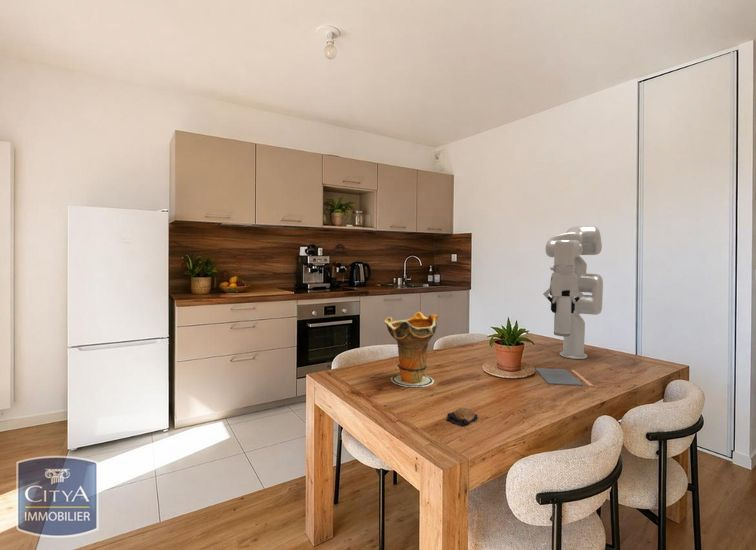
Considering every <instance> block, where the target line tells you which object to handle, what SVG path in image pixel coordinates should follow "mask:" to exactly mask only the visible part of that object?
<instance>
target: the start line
mask: <svg viewBox="0 0 756 550" xmlns="http://www.w3.org/2000/svg"><path fill="white" fill-rule="evenodd" d="M570 371H571V372H572V373H573V374H574V375H575V376H577V377H578V378H579V379H580V380H581V381H582V382H584V383H585V384H586V385H587V386H588V387H594V385H593V384H592V383H591V382H590V381H588V380H587V379H586V378H585V377H584V376H582V375H581V373H579V372H578V371H576V369H571V370H570Z"/></svg>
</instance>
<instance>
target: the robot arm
mask: <svg viewBox="0 0 756 550" xmlns="http://www.w3.org/2000/svg"><path fill="white" fill-rule="evenodd" d="M601 236H602V235H601V231H600V230H599V228H598V227H597V226H594V225H585V226H583V225H581V226H579V225H578V226H572V227H570V228H568V229H567V230H566V231H565V233H562V234H557V235H554V236H552V237H550V238H549V239H548V240H547V242H546V243H545V254H546V256H548V257H549V258H554V259H553V260H554V261H553V266H551V267H550V268H549V269H550V271H553V272H551V277H550V282H549V288H547V289H546V290H545V291H544V293H543V296H544V297H545V298H546V299H547V300H548V301H549V302H550V311H551V312H552V313H553V314H555V313H556V303H555V301H556V299H557V297H561V295H562V291H564V290H570V294H569V295H570V297H571V298H572V302H571V330H570V336H567V337H562V338H563V341H562V343H563V345H562V346H563V347H562V351H560V352H559V356H561V357H563V358H567V359H573V360H585V359H587V358H588V355H587V354H586V353H585V335H586V334H585V333H586V332H585V331H586V324H585V323H586V322H585V320H584V318H583V317H582V316H581V315H582V314H583V315H593V316H595V315H599V314H601V313H602V309H603V295H604V293H603V292H604V281H603V277H602V276H601V275H600V274H598V273H597V274H596V273H588V272H587V267H588V265H587V263H586V261H585V260H584V258H583V257H581V256H597V255H599V254H601V252H602V247H603V246H602V245H603V244H602V237H601ZM583 293H589V294H583Z"/></svg>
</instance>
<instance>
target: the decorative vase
mask: <svg viewBox="0 0 756 550" xmlns="http://www.w3.org/2000/svg"><path fill="white" fill-rule="evenodd" d="M438 317H439V315H438V314H429V315H428V317H426V316H425V315H424V313H422V312H421V311H417V312H415V313H414V314H413V316H412V317H411V318H407V319H400V320H393V317H391V316H387V317H386V318H385V319H384V321H383V323H384V324H385V325H386V328H387V331H388V333H389V335H390V336H391V337H392V338H393V339H394V340H395V341H396V343H397V349H398V350H397V354H398V362H399V363H398V364H397V367H398V368H399V374H396V375H393V376H391V377H390V378H389V379H390V380H391V382H392V383H393V384H395V385H399V386H401V387H405V388H408V387H409V388H421V387H428V386H431V385H434V382H435V380H434V379H433V378H432V377H431V376H428V375H426V374H425V373H426V369H427V368H428V367H427V366H428V365H427V358H428V347H429V342H430V340H431V339H432V338H433V337H434V336H436V335H435V334H436V331H437V327H438V326H437V325H438V324H437V319H438ZM397 367H395V371H396V370H397Z"/></svg>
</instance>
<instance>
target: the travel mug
mask: <svg viewBox="0 0 756 550" xmlns="http://www.w3.org/2000/svg"><path fill="white" fill-rule="evenodd" d="M569 294H570V290H564V291H562V295H561V297H557V299H556V301H555V303H556V313H553V314H554V315H553V318H554V320H553V321H554V323H553V335H554V336H557V337H562V338H564V337H567V336H570V330H571V302H572V298H571V297H570V295H569Z"/></svg>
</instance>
